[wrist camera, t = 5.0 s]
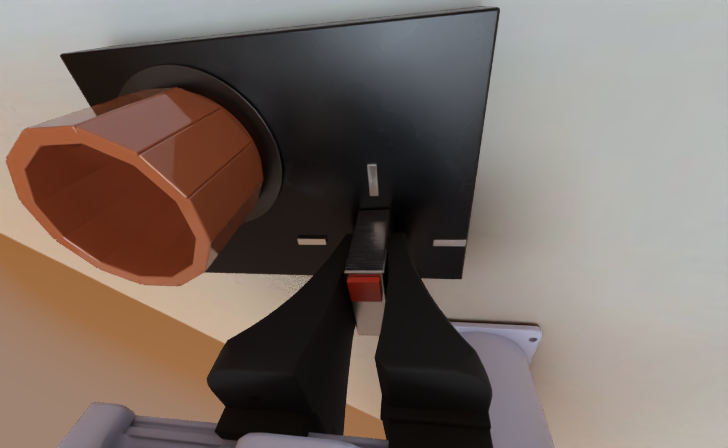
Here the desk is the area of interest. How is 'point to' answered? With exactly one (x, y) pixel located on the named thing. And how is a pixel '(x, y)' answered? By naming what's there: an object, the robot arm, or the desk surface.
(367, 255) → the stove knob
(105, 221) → the small cup
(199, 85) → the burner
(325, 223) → the stove
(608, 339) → the desk surface
